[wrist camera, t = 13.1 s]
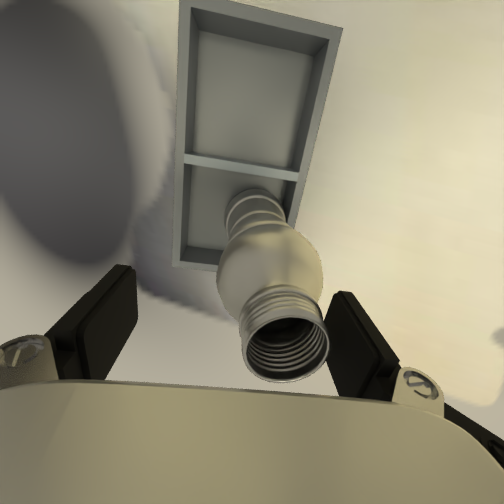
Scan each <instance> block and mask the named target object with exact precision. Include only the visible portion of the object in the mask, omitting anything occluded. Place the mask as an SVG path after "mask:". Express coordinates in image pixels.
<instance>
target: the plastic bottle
mask: <svg viewBox="0 0 504 504" xmlns="http://www.w3.org/2000/svg"><path fill="white" fill-rule="evenodd" d="M224 226H225V230H226V233H227V236H228V238H229V239H228V243H227V245H226V247H225V249H224V252H223V253H222V255H221V258H220V262H219V265H218V269H217V275H216V283H217V289H218V293H219V295H220V298H221V300H222V302H223V305H224V307H225V309H226V310H227V311H228V313H229V314H230V315H231V316H232V317H233V318H234V319H235V320H236V321H237V322H239V333H240V337H241V340H242V354H243V359H244V362H245V364H246V366H247V368H248V369H249V370H250V372H252V373H253V374H254V375H255V376H257V377H258V378H260V379H262V380H265V381H268V382H274V383H288V382H295V381H298V380H301V379H304V378H306V377H308V376H310V375H311V374H313V373H315V372H316V371H317V370H318V369H319V368H320V367H321V366H322V365H323V364H324V363H325V361H326V360H327V358H328V356H329V353H330V350H331V340H330V336H329V331H328V329H327V327H326V325H325V323H324V321H323V316H322V312H321V310H320V308H319V306H318V304H317V303H318V300H319V298H320V296H321V292H322V288H323V272H322V265H321V260H320V258H319V255H318V253H317V251H316V250H315V248H314V247H313V245H312V244H311V243H310V242H309V241H308V240H307V239H306V238H305V237H304V236H303V235H301V234H300V233H299V232H297V231H296V230H294V229H293V228H292V227H290V226H289V225H288V224H287V223H286V218H285V214H284V209H283V207H282V205H281V203H280V202H279V200H278V199H277V198H276V197H275V196H274V195H273V194H271V193H269V192H267V191H264V190H261V189H249V190H246V191H243V192H241V193H239V194H238V195H236V196H235V197H234V198H233V199H232V200H231V202H230V203H229V204H228V206H227V208H226V211H225V215H224Z"/></svg>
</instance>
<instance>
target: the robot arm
mask: <svg viewBox="0 0 504 504" xmlns="http://www.w3.org/2000/svg"><path fill="white" fill-rule="evenodd" d="M137 320H138V305H137V286H136V271H135V270H134V269H132V267H131V266H128V265H119V264H116V265H115V266H114V267H113V268H112V269H111V270H110V271H109V272H108V273H107V274H106V275H105V276H104V277H103V278H102V279H101V280H100V281H99V282H98V283H97V284H96V285H95V286H94V287H93V288H92V289H91V290H90V291H89V292H87V293H86V294H84V295H83V297H81V299H80V300H79V301H77V303H76V304H74V306H73V307H71V308H70V309H69V310H68V312H67V313H66V314H65V315H64V316H63V317H61V319H59V321H57V323H55V325H54V326H52V328H50V330H49V331H47V332H46V333H45V334H44V336H43V335H37V334H36V335H26V336H22V337H18V338H15V339H12V340H10V341H8V342H6V343H4V344H2V345H1V346H0V504H504V441H503V440H502V439H501V438H499V437H498V436H496V435H495V434H493V433H491V432H490V431H488V430H487V429H485V428H484V427H482V426H480V425H479V424H477V423H476V422H474V421H473V420H471V419H469V418H468V417H466V416H465V415H463V414H461V413H460V412H459V411H457V410H455V409H454V408H452V407H451V406H449V405H447V404H446V403H444V395H443V392H442V390H441V389H440V387H439V386H438V385H437V383H436V382H435V381H434V380H433V379H431V378H430V377H429V376H428V375H426V374H425V373H423V372H421V371H419V370H417V369H414V368H411V367H404V368H401V366H400V365H399V364H398V363H399V361H400V360H399V359H398V357H397V356H396V354H395V353H394V351H393V350H392V349H391V347H390V346H389V344H388V343H387V342H386V340H385V339H384V337H383V336H382V334H381V333H380V332H379V330H378V329H377V327H376V326H375V324H374V323H373V322H372V320H371V319H370V317H369V316H368V314H367V313H366V312H365V310H364V309H363V307H362V306H361V305H360V303H359V302H358V300H357V299H356V297H355V296H354V295H353V293H352V292H346V291H338V292H337V293H335V294H334V295H333V298H332V300H331V303H330V306H329V308H328V311H327V314H326V317H325V319H324V323H325V325H326V327H327V329H328V331H329V336H330V340H331V350H330V353H329V356H328V358H327V360H326V362H327V365H328V367H329V370H330V373H331V375H332V378H333V381H334V384H335V386H336V389H337V392H338V394H339V396H328V395H315V394H302V393H290V392H278V391H264V390H249V389H236V388H223V387H208V386H194V385H179V384H162V383H149V382H132V381H111V380H105V379H106V377H107V375H108V373H109V371H110V370H111V368H112V366H113V364H114V363H115V361H116V359H117V357H118V356H119V354H120V352H121V350H122V348H123V347H124V345H125V343H126V341H127V339H128V338H129V336H130V334H131V332H132V330H133V329H134V327H135V325H136V323H137Z"/></svg>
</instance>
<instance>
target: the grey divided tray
mask: <svg viewBox="0 0 504 504" xmlns="http://www.w3.org/2000/svg"><path fill="white" fill-rule="evenodd" d="M342 31H343V28H341V27H337V26H332V25H328V24H324V23H320V22H316V21H312V20H308V19H303V18H299V17H295V16H291V15H287V14H283V13H278V12H274V11H270V10H266V9H262V8H258V7H254V6H249V5H245V4H241V3H237V2H233V1H229V0H179V29H178V65H177V100H176V136H175V171H174V206H173V242H172V267H179V268H187V269H196V270H205V271H213V272H217V269H218V265H219V262H220V258H221V255H222V253H223V252H224V249H225V247H226V245H227V243H228V239H229V238H228V236H227V233H226V230H225V226H224V215H225V211H226V208H227V206H228V204H229V203H230V202H231V200H232V199H233V198H234V197H235V196H236V195H238V194H239V193H241V192H243V191H246V190H249V189H261V190H264V191H267V192H269V193H271V194H273V195H274V196H275V197H276V198H277V199H278V200H279V202H280V203H281V205H282V207H283V209H284V214H285V218H286V223H287V224H288V225H289V226H290V227H292V228H293V229H294V227H295V223H296V218H297V214H298V210H299V206H300V202H301V198H302V194H303V190H304V186H305V182H306V178H307V174H308V169H309V165H310V161H311V157H312V153H313V149H314V145H315V141H316V137H317V133H318V129H319V125H320V120H321V116H322V112H323V108H324V104H325V100H326V96H327V92H328V88H329V84H330V80H331V76H332V71H333V67H334V63H335V59H336V55H337V51H338V47H339V43H340V39H341V35H342Z"/></svg>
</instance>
